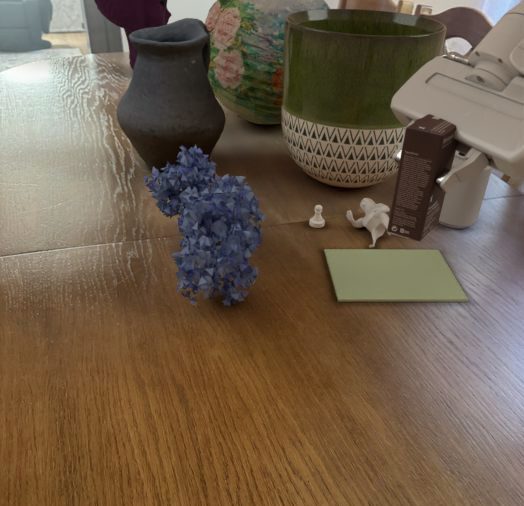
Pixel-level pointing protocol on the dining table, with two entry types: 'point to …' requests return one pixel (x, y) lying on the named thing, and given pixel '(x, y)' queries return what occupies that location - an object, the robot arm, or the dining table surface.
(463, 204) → the can
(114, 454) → the dining table surface
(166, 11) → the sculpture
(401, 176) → the box
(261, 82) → the floral painted vase
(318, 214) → the chess pawn
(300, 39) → the planter
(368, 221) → the figurine
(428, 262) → the mat
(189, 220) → the decorative sculpture
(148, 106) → the pitcher
